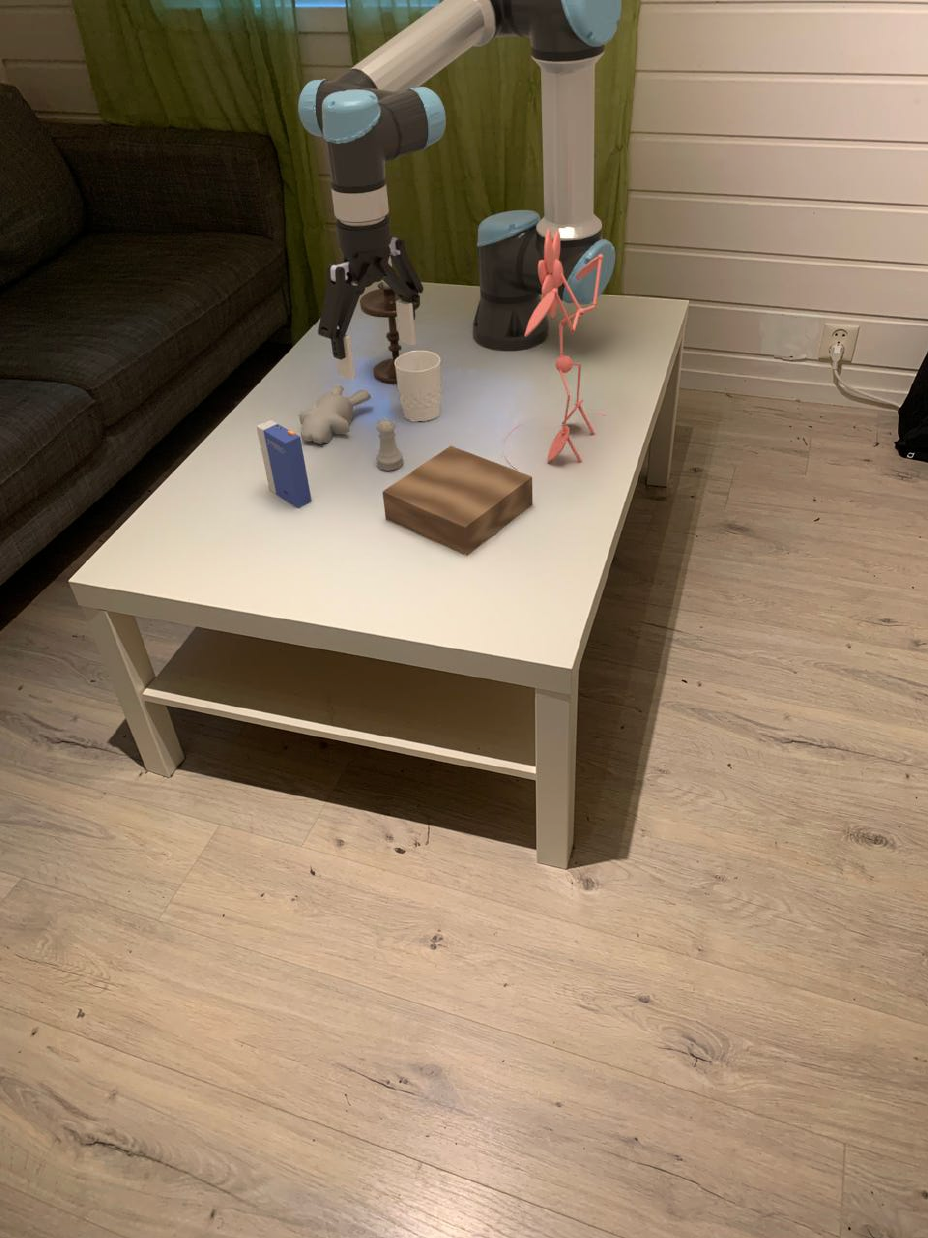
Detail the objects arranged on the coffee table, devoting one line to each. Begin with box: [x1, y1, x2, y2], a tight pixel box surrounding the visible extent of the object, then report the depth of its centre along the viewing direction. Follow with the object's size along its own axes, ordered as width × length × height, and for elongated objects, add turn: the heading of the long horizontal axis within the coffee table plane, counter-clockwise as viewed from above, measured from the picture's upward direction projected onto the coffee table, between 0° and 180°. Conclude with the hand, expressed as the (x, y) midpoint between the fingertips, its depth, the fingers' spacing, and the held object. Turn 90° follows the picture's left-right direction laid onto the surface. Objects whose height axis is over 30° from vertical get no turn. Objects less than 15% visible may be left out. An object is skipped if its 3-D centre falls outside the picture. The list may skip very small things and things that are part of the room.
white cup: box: [394, 350, 442, 422], centre depth 175 cm, size 8×8×10 cm
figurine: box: [500, 229, 607, 471], centre depth 157 cm, size 15×26×35 cm, turn 162°
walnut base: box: [382, 445, 533, 556], centre depth 152 cm, size 16×16×5 cm
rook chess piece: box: [375, 417, 405, 472], centre depth 163 cm, size 4×4×8 cm
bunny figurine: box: [298, 384, 372, 445], centre depth 175 cm, size 10×5×15 cm
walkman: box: [256, 419, 312, 509], centre depth 156 cm, size 8×3×12 cm, turn 44°
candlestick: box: [359, 257, 421, 385], centre depth 179 cm, size 11×11×35 cm
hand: (378, 359), depth 153 cm, fingers open, 13 cm apart
